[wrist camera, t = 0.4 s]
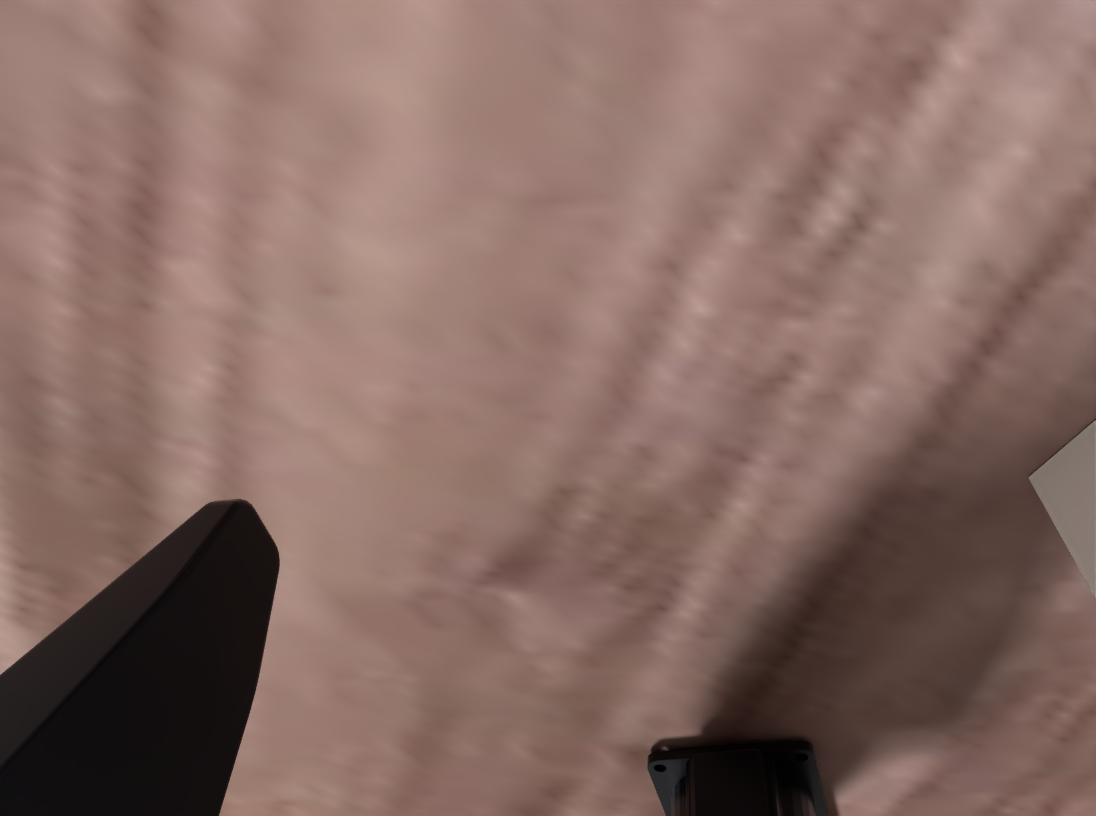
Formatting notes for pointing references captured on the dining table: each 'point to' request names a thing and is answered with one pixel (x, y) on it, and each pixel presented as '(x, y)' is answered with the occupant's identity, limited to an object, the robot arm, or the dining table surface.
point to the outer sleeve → (1073, 498)
